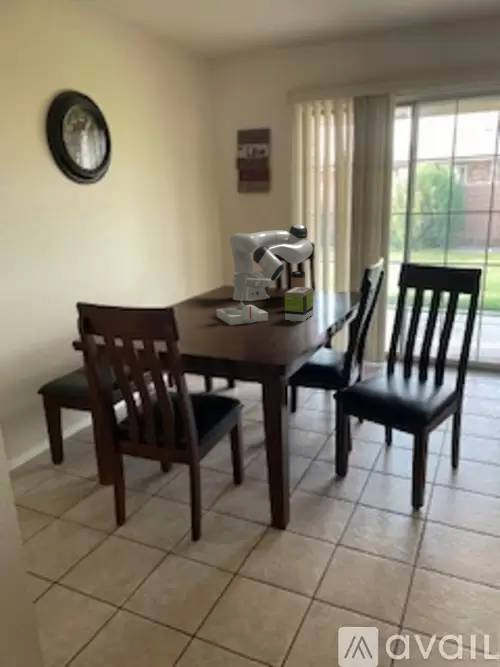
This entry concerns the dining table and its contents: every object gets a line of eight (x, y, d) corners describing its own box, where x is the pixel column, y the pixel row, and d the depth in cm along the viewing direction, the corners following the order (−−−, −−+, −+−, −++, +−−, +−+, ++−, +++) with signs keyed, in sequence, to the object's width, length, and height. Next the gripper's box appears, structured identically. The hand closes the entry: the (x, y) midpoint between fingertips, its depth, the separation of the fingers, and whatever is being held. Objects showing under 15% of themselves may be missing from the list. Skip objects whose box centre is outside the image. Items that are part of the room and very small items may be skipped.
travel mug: (306, 307, 276) (306, 271, 270) (303, 310, 269) (303, 273, 264) (292, 306, 278) (292, 271, 273) (289, 309, 271) (289, 273, 266)
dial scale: (252, 312, 266) (251, 295, 264) (269, 321, 247) (269, 303, 245) (216, 316, 259) (216, 299, 256) (231, 325, 240) (231, 307, 237)
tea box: (295, 314, 261) (295, 286, 257) (313, 315, 256) (314, 287, 252) (284, 320, 248) (284, 291, 244) (303, 322, 243) (303, 292, 239)
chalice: (234, 307, 256) (233, 272, 251) (248, 307, 256) (247, 272, 251) (234, 310, 249) (233, 274, 244) (248, 310, 249) (247, 274, 244)
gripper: (275, 287, 261) (264, 291, 249) (240, 285, 270) (228, 289, 258) (275, 275, 260) (264, 278, 248) (240, 273, 268) (228, 277, 256)
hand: (245, 283), depth 253 cm, fingers open, 8 cm apart
